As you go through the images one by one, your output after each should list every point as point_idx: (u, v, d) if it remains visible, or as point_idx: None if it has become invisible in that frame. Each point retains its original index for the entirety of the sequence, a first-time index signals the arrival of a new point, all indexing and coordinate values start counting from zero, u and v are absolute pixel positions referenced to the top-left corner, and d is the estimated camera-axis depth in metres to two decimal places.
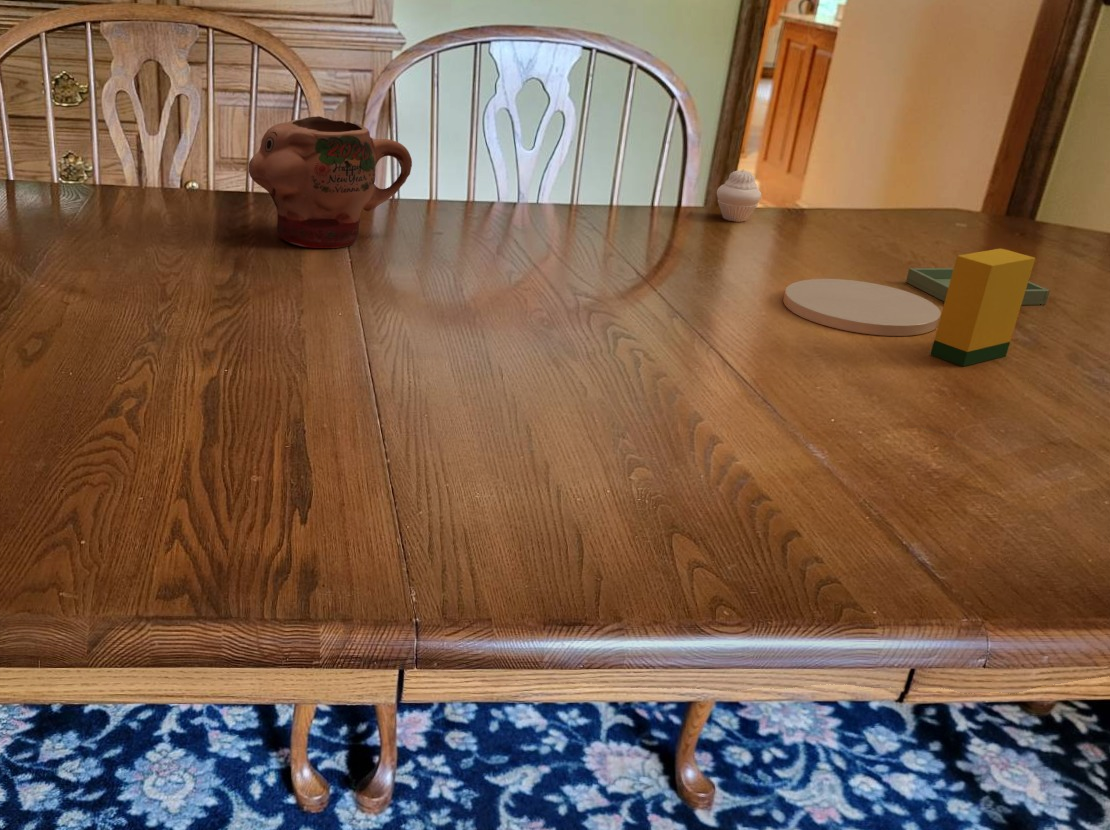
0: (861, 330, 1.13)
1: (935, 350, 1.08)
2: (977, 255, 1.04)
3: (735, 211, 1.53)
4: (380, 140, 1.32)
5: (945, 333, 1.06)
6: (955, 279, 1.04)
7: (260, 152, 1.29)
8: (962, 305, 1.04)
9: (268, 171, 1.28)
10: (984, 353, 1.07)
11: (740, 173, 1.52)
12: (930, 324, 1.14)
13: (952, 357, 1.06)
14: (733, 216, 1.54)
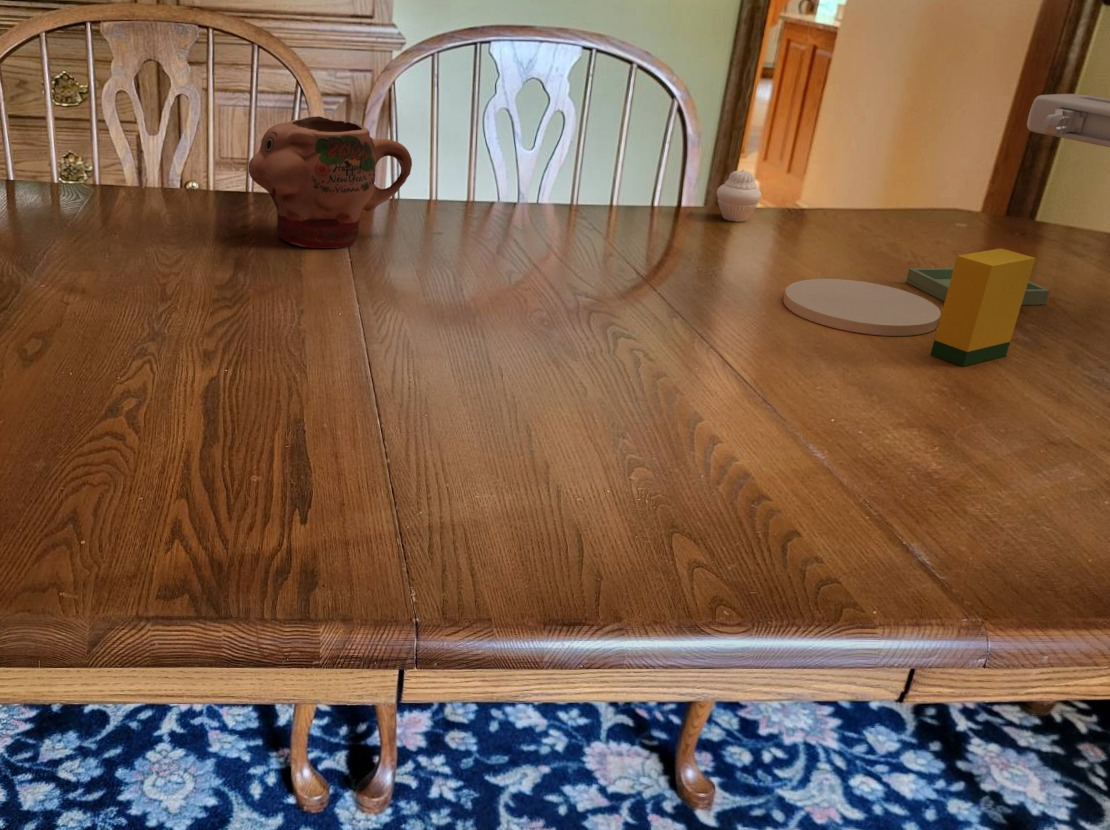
0: (861, 330, 1.13)
1: (935, 350, 1.08)
2: (977, 255, 1.04)
3: (735, 211, 1.53)
4: (380, 140, 1.32)
5: (945, 333, 1.06)
6: (955, 279, 1.04)
7: (260, 152, 1.29)
8: (962, 305, 1.04)
9: (268, 171, 1.28)
10: (984, 353, 1.07)
11: (740, 173, 1.52)
12: (930, 324, 1.14)
13: (952, 357, 1.06)
14: (733, 216, 1.54)
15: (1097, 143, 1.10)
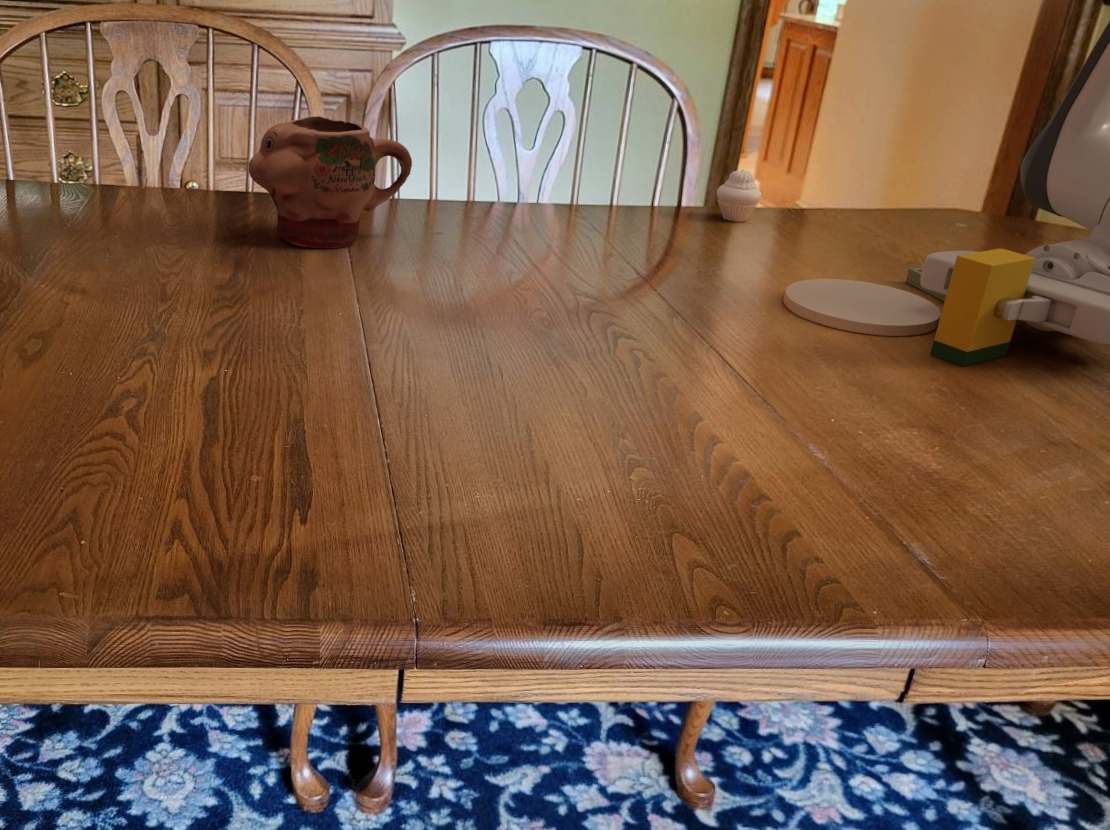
0: (861, 330, 1.13)
1: (935, 350, 1.08)
2: (977, 255, 1.04)
3: (735, 211, 1.53)
4: (380, 140, 1.32)
5: (945, 333, 1.06)
6: (955, 279, 1.04)
7: (260, 152, 1.29)
8: (962, 305, 1.04)
9: (268, 171, 1.28)
10: (984, 353, 1.07)
11: (740, 173, 1.52)
12: (930, 324, 1.14)
13: (952, 357, 1.06)
14: (733, 216, 1.54)
15: None
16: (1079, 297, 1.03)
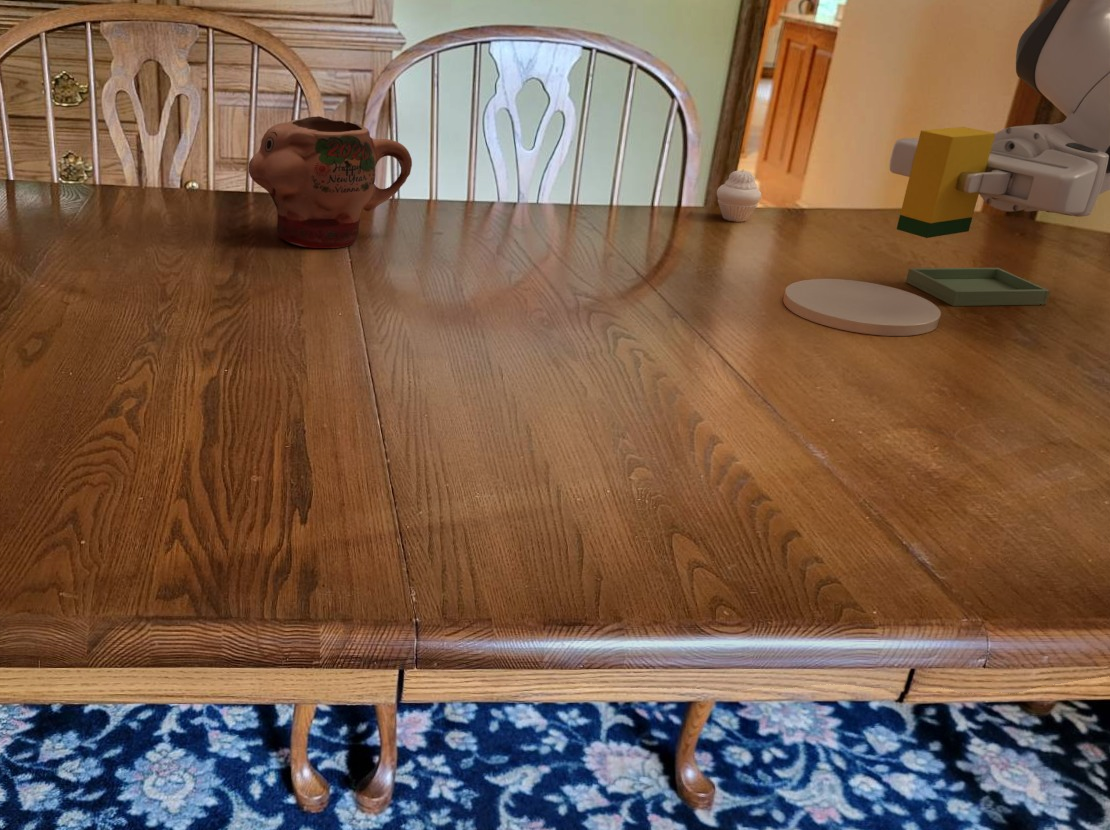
0: (861, 330, 1.13)
1: (901, 224, 1.13)
2: (940, 130, 1.10)
3: (735, 211, 1.53)
4: (380, 140, 1.32)
5: (910, 207, 1.12)
6: (919, 153, 1.10)
7: (260, 152, 1.29)
8: (926, 178, 1.10)
9: (268, 171, 1.28)
10: (947, 226, 1.12)
11: (740, 173, 1.52)
12: (930, 324, 1.14)
13: (916, 229, 1.12)
14: (733, 216, 1.54)
15: None
16: (1036, 169, 1.08)
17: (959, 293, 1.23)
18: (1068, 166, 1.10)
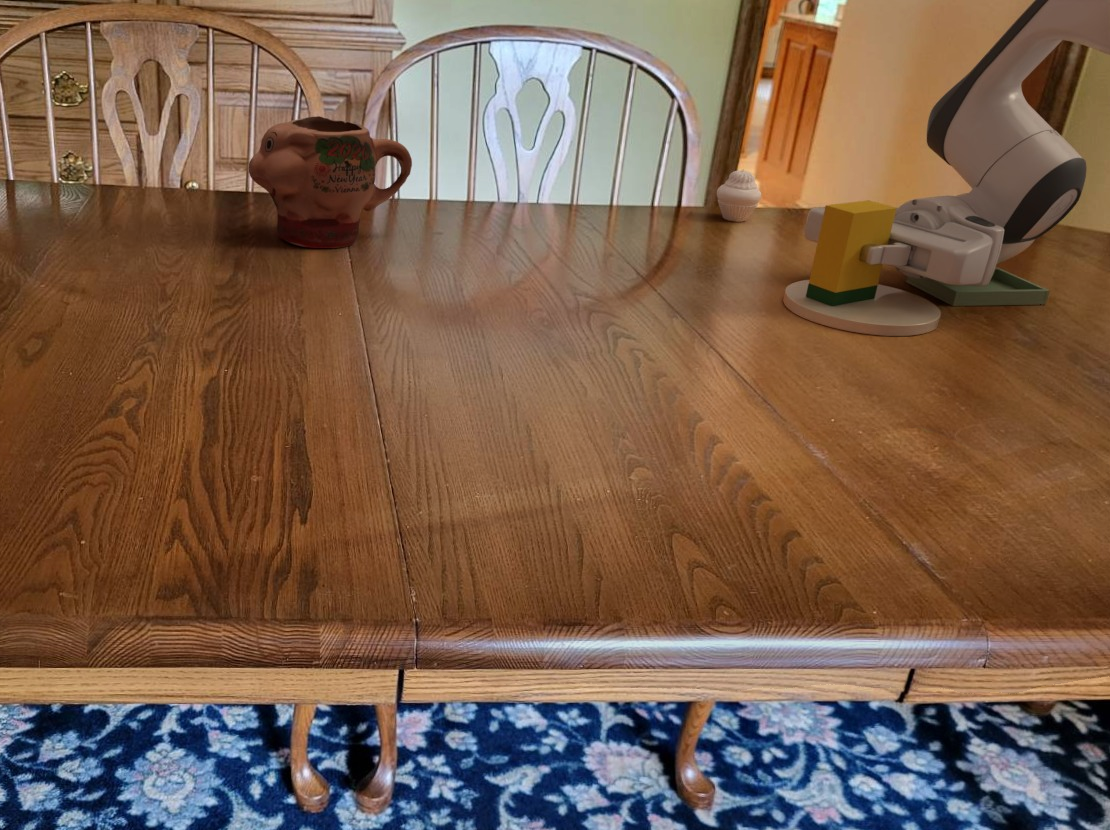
0: (861, 330, 1.13)
1: (809, 292, 1.19)
2: (844, 205, 1.16)
3: (735, 211, 1.53)
4: (380, 140, 1.32)
5: (817, 276, 1.18)
6: (824, 227, 1.16)
7: (260, 152, 1.29)
8: (830, 250, 1.16)
9: (268, 172, 1.28)
10: (853, 295, 1.18)
11: (740, 173, 1.52)
12: (930, 324, 1.14)
13: (823, 298, 1.18)
14: (733, 216, 1.54)
15: None
16: (933, 243, 1.14)
17: (959, 293, 1.23)
18: (966, 239, 1.16)
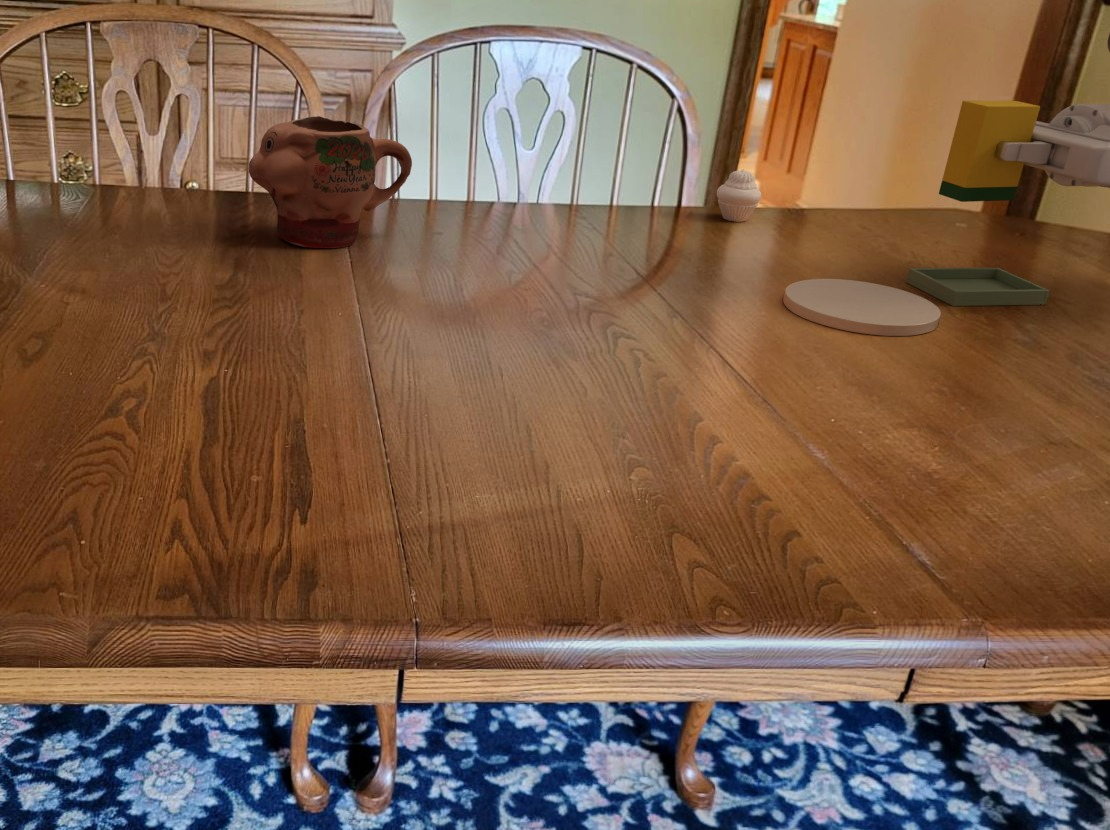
0: (861, 330, 1.13)
1: (942, 189, 1.21)
2: (983, 101, 1.17)
3: (735, 211, 1.53)
4: (380, 140, 1.32)
5: (950, 173, 1.20)
6: (960, 122, 1.18)
7: (260, 152, 1.29)
8: (964, 145, 1.18)
9: (268, 171, 1.28)
10: (987, 193, 1.19)
11: (740, 173, 1.52)
12: (930, 324, 1.14)
13: (954, 194, 1.20)
14: (733, 216, 1.54)
15: None
16: (1073, 140, 1.14)
17: (959, 293, 1.23)
18: None
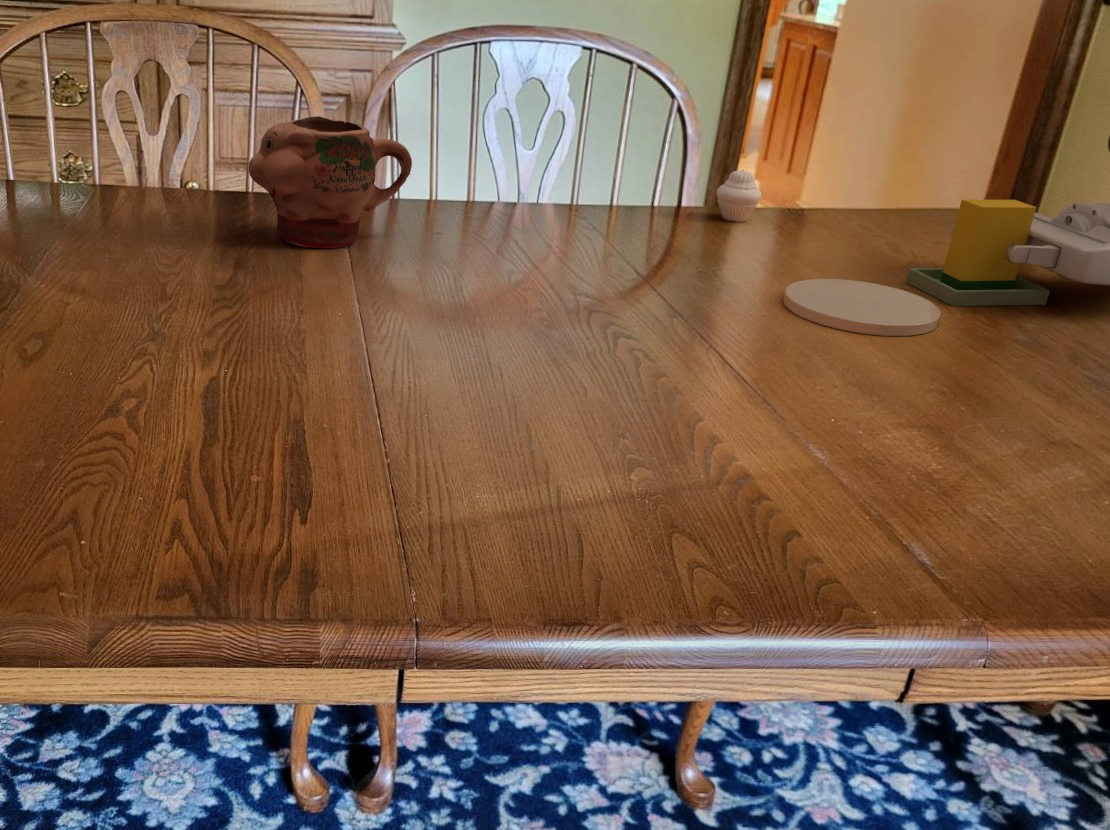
0: (861, 330, 1.13)
1: (942, 280, 1.28)
2: (981, 201, 1.24)
3: (735, 211, 1.53)
4: (380, 140, 1.32)
5: (949, 265, 1.27)
6: (959, 219, 1.25)
7: (260, 152, 1.29)
8: (961, 241, 1.25)
9: (268, 172, 1.28)
10: (984, 286, 1.26)
11: (740, 173, 1.52)
12: (930, 324, 1.14)
13: (952, 286, 1.27)
14: (733, 216, 1.54)
15: None
16: (1065, 241, 1.20)
17: (959, 293, 1.23)
18: (1107, 242, 1.21)
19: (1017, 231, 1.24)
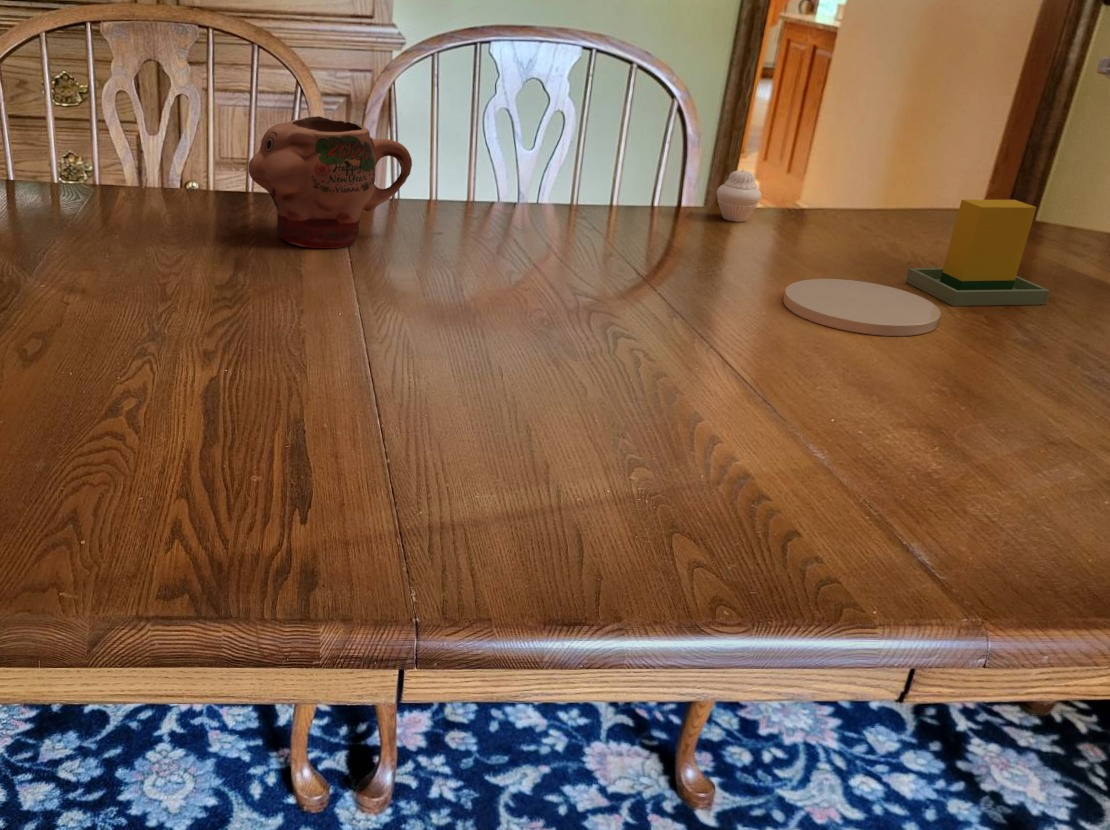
0: (861, 330, 1.13)
1: (942, 280, 1.28)
2: (981, 201, 1.24)
3: (735, 211, 1.53)
4: (380, 140, 1.32)
5: (949, 265, 1.27)
6: (959, 219, 1.25)
7: (260, 152, 1.29)
8: (961, 241, 1.25)
9: (268, 171, 1.28)
10: (984, 286, 1.26)
11: (740, 173, 1.52)
12: (930, 324, 1.14)
13: (952, 286, 1.27)
14: (733, 216, 1.54)
15: None
16: None
17: (959, 293, 1.23)
18: None
19: (1017, 231, 1.24)
